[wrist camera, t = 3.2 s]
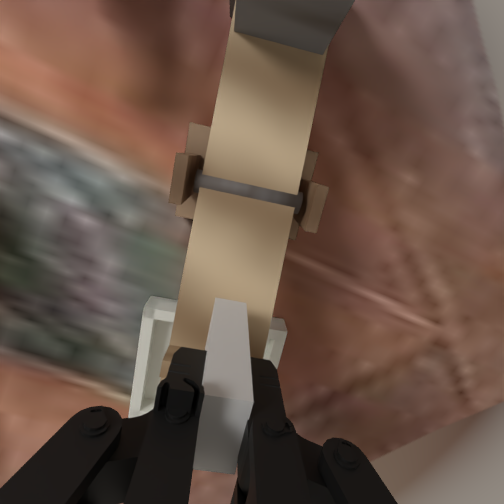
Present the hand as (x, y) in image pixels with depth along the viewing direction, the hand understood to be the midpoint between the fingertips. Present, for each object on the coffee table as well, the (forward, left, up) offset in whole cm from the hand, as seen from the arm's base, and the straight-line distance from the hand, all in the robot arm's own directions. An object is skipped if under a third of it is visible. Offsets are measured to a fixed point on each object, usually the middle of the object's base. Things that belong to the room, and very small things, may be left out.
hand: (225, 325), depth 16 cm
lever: (-6, 0, -3) cm, 7 cm away
